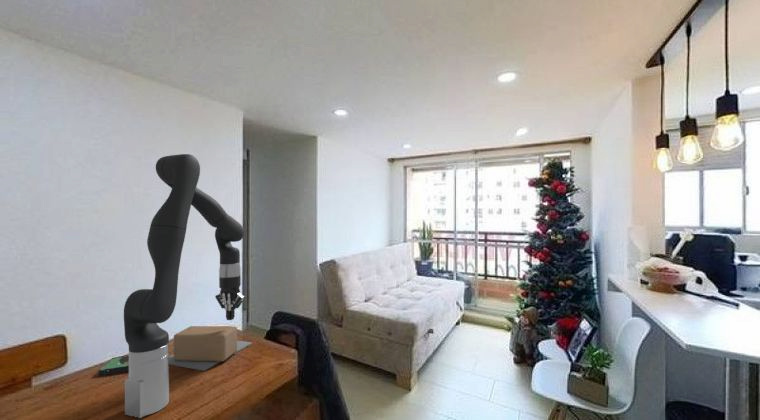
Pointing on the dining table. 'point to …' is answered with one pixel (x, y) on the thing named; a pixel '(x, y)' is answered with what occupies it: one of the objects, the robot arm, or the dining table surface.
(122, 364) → the disk drive
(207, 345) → the wooden block
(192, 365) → the mat
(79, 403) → the dining table surface
